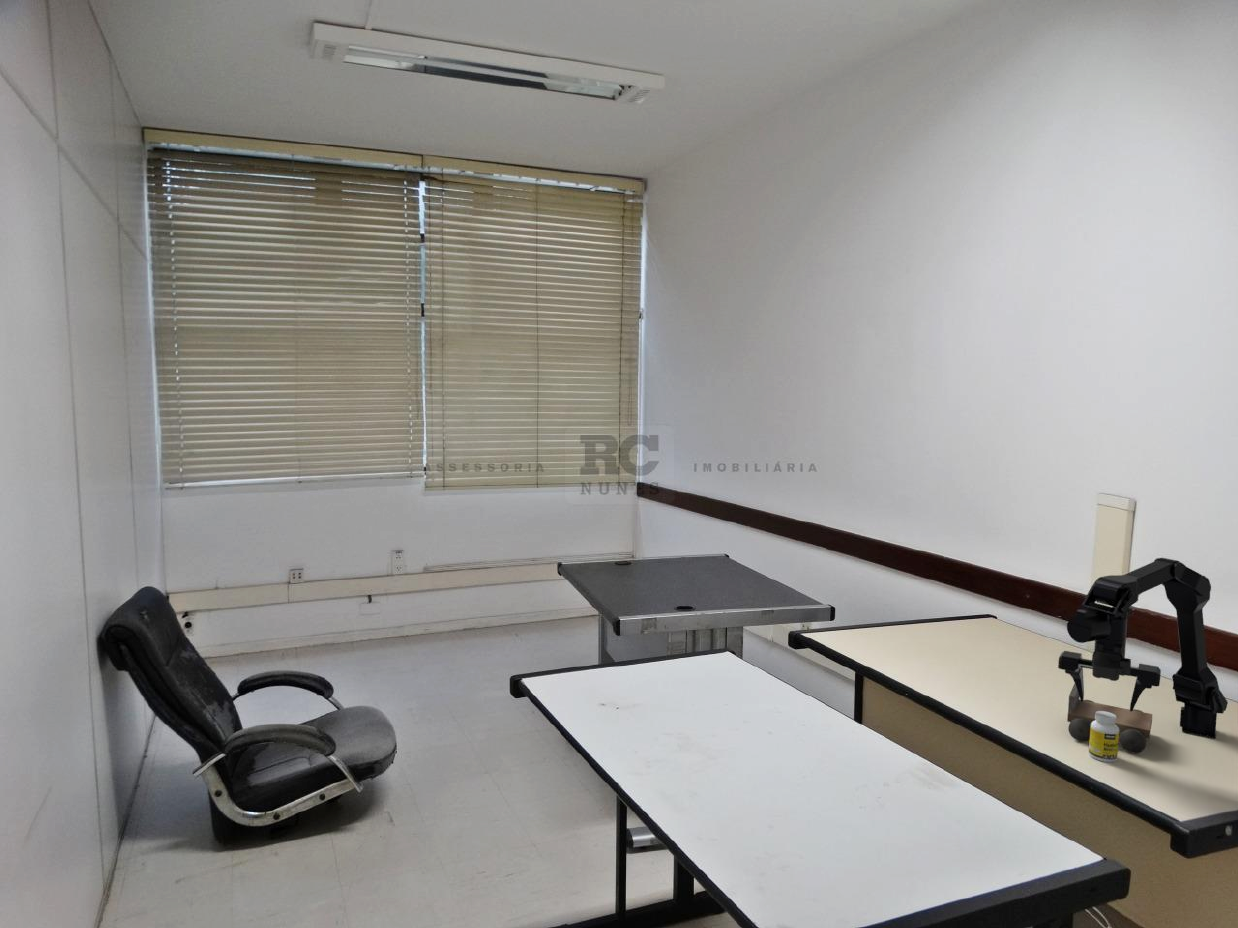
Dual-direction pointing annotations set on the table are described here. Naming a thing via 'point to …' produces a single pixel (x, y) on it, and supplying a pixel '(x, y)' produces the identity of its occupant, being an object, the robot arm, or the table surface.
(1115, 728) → the supplement bottle
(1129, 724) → the trolley
